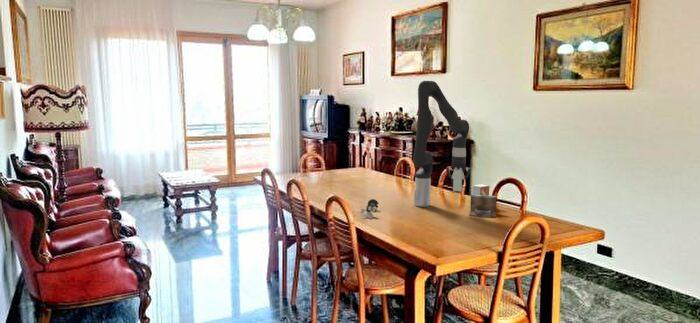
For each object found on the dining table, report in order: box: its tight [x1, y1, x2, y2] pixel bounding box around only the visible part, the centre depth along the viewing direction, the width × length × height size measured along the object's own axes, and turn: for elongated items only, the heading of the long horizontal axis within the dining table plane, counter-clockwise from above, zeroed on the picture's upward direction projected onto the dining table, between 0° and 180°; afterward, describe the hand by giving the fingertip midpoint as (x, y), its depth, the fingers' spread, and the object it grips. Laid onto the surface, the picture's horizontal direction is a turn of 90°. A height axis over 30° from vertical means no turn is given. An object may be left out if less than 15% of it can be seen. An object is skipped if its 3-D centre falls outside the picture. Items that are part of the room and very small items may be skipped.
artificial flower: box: [360, 198, 379, 220], centre depth 269 cm, size 9×22×10 cm, turn 163°
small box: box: [471, 183, 490, 196], centre depth 286 cm, size 8×6×13 cm
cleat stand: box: [468, 194, 497, 218], centre depth 266 cm, size 14×11×10 cm
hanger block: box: [452, 170, 463, 192], centre depth 269 cm, size 4×6×12 cm
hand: (457, 185), depth 269 cm, fingers closed on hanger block, 4 cm apart
